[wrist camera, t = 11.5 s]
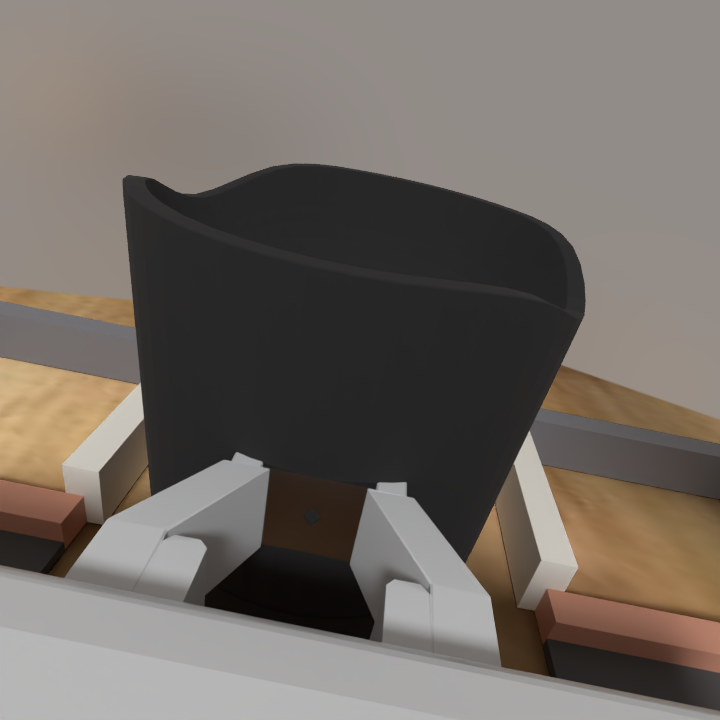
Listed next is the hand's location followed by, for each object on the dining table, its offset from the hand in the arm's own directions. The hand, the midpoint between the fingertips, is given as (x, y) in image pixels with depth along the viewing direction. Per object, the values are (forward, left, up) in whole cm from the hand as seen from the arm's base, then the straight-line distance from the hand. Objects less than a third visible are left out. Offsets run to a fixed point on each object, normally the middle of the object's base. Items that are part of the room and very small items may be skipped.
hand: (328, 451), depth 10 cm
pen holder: (-1, -3, -6) cm, 6 cm away
